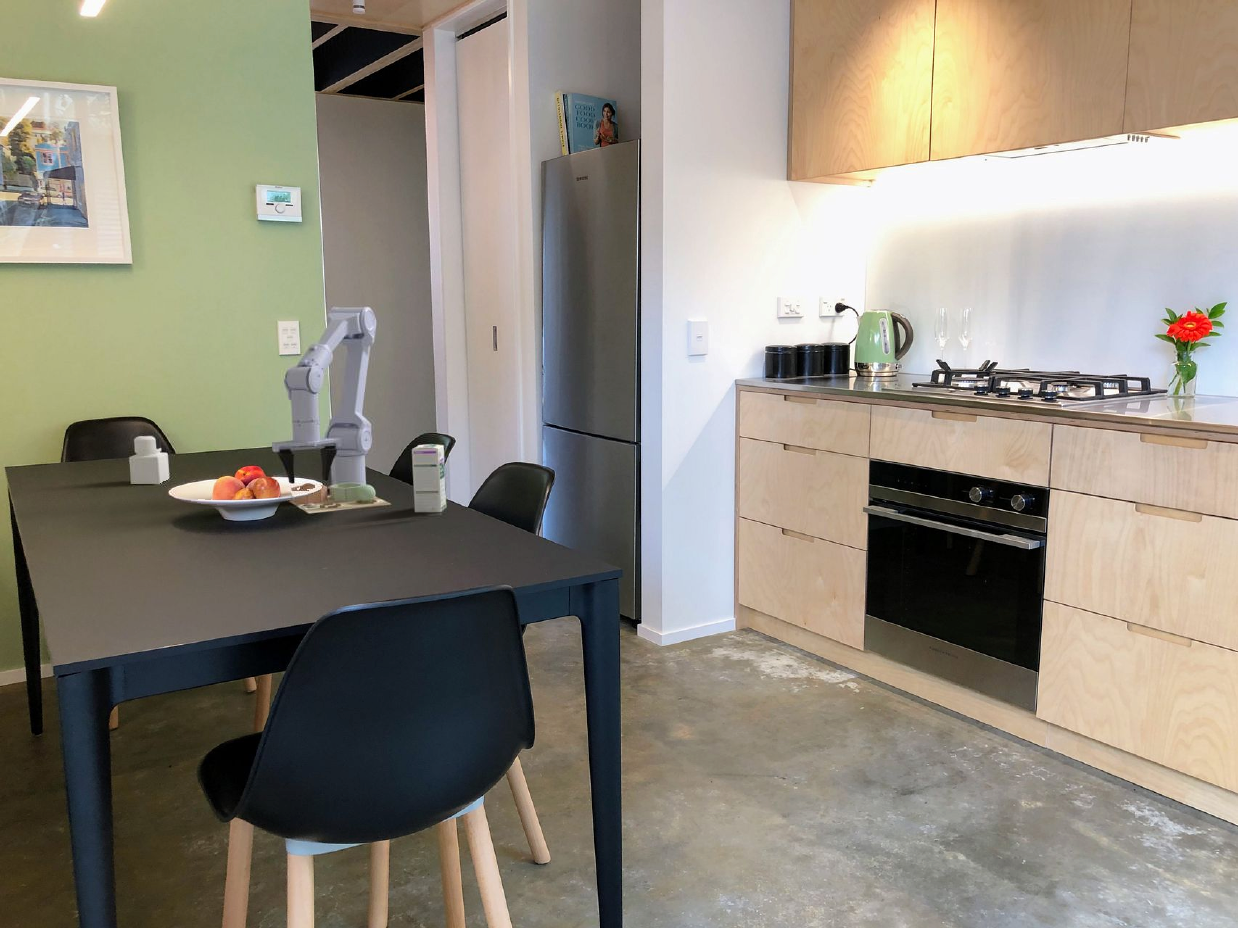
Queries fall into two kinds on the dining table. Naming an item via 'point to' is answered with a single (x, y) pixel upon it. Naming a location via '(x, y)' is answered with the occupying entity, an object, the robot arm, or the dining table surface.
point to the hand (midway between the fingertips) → (308, 481)
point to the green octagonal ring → (344, 492)
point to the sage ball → (366, 493)
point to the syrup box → (429, 478)
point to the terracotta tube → (311, 496)
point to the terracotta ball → (307, 486)
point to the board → (339, 505)
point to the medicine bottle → (148, 461)
